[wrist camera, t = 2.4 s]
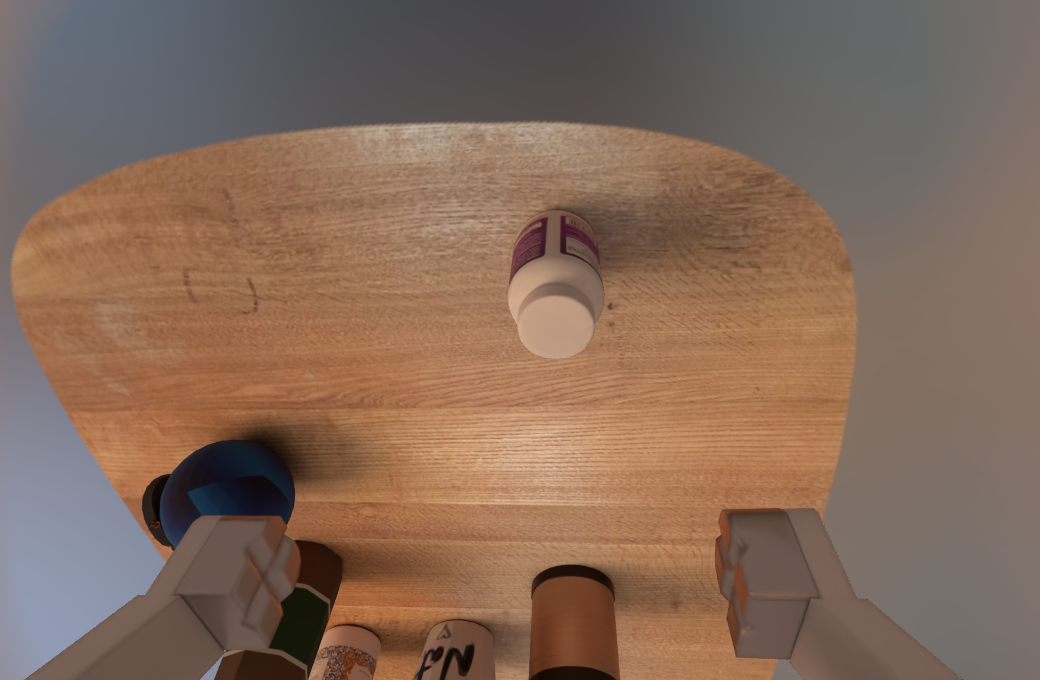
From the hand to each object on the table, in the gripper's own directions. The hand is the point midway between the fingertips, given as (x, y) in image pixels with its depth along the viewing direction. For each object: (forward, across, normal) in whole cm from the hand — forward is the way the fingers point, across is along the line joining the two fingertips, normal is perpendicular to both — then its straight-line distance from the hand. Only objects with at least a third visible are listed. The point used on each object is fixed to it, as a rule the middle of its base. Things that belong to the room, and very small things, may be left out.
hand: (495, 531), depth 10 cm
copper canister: (+27, +1, +47) cm, 54 cm away
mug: (+28, +13, +59) cm, 66 cm away
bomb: (+27, +28, +26) cm, 47 cm away
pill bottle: (+27, 0, +7) cm, 28 cm away
